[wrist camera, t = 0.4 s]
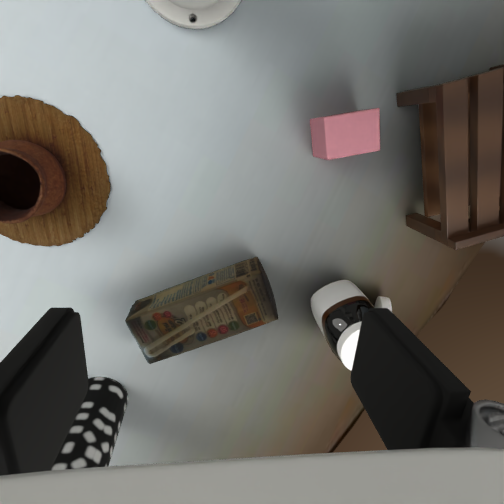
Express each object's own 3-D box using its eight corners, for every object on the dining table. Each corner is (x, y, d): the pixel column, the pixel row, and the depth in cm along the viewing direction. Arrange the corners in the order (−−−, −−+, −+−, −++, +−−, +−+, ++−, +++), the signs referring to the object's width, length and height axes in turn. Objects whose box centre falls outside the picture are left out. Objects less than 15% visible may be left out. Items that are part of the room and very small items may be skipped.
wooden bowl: (134, 150, 40) (119, 155, 34) (78, 268, 45) (56, 292, 38) (-25, 61, 35) (-78, 46, 29) (-70, 203, 40) (-125, 218, 33)
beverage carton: (131, 297, 47) (119, 323, 41) (258, 251, 47) (265, 270, 41) (155, 341, 50) (147, 370, 44) (274, 297, 50) (283, 321, 44)
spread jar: (300, 288, 50) (325, 332, 39) (369, 256, 49) (414, 292, 38) (326, 346, 54) (355, 401, 43) (390, 318, 53) (435, 366, 43)
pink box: (309, 119, 41) (323, 117, 36) (358, 110, 42) (379, 107, 36) (312, 156, 43) (327, 160, 38) (360, 147, 43) (380, 150, 38)
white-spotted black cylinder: (128, 417, 54) (85, 567, 36) (75, 418, 53) (1, 573, 35) (128, 377, 52) (80, 517, 33) (71, 376, 50) (-11, 521, 32)
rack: (396, 93, 42) (452, 82, 32) (501, 64, 42) (588, 45, 32) (406, 225, 48) (455, 250, 38) (497, 200, 48) (569, 217, 39)
